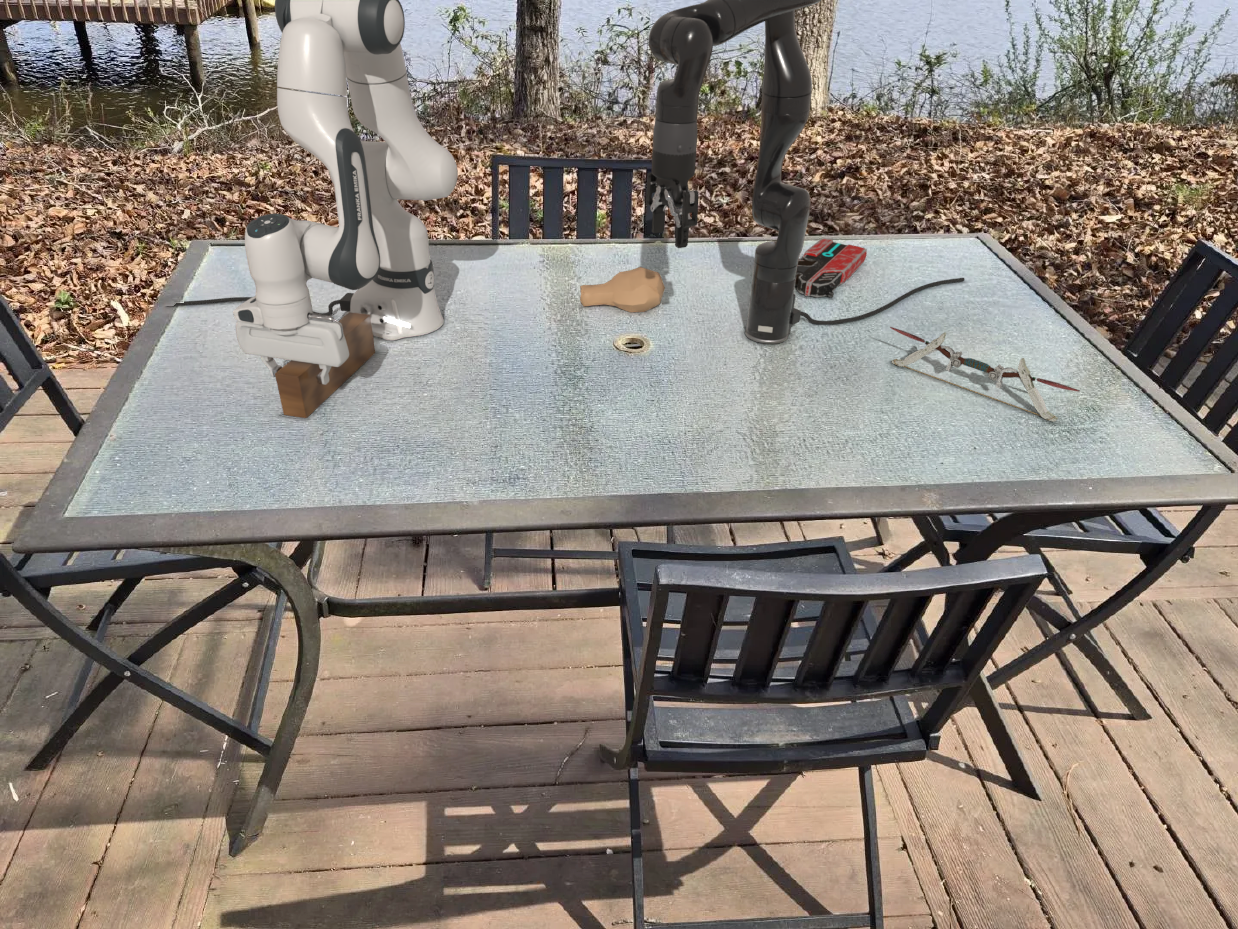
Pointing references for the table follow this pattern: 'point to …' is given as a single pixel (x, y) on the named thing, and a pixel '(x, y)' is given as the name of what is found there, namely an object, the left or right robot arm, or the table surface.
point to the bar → (300, 377)
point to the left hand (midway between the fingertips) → (300, 379)
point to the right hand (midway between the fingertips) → (669, 239)
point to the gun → (827, 267)
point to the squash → (626, 291)
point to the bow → (994, 374)
